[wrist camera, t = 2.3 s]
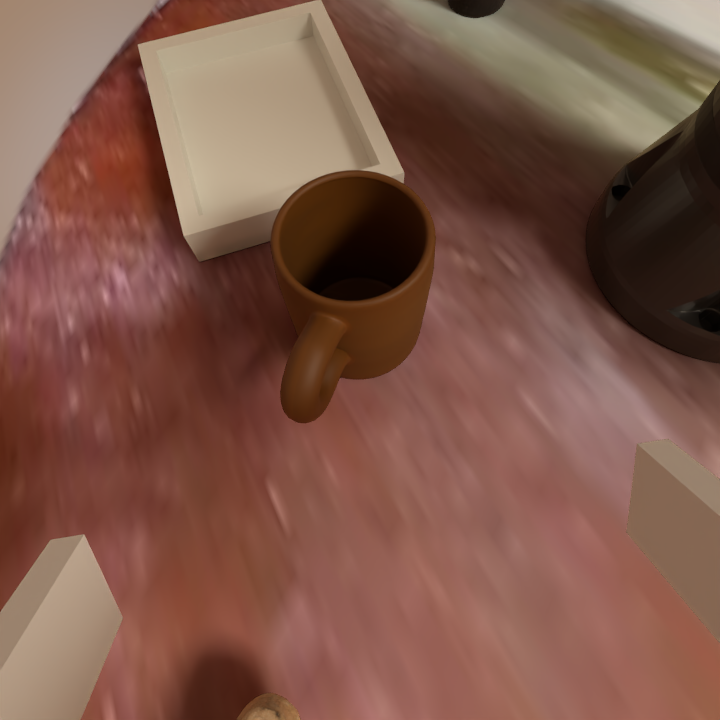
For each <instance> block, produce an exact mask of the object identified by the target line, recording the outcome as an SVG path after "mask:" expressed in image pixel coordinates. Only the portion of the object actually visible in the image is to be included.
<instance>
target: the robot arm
mask: <svg viewBox="0 0 720 720" xmlns="http://www.w3.org/2000/svg"><path fill="white" fill-rule="evenodd" d="M586 249H587V256H588V260H589V264H590V267H591V270H592V273H593V275H594V277H595V279H596V282H597V283H598V285H599V287H600V289H601V290H602V292H603V293H604V295H605V296H606V298H607V299H608V300H609V302H610V303H611V304H612V305H613V307H614V308H615V309H616V310H617V311H618V312H619V313H620V314H621V315H622V316H623V317H624V318H625V319H626V320H627V321H628V322H629V323H630V324H632V325H633V326H634V327H635V328H637V329H638V330H639V331H641V332H642V333H644V334H645V335H646V336H648V337H650V338H651V339H653V340H655V341H656V342H658V343H660V344H662V345H664V346H666V347H668V348H670V349H672V350H674V351H677V352H679V353H682V354H684V355H687V356H690V357H694V358H697V359H701V360H705V361H710V362H715V363H720V81H719V82H718V83H717V85H716V86H715V87H714V89H713V90H712V92H711V93H710V94H709V96H708V97H707V98H706V100H705V101H704V102H703V104H702V105H701V106H700V108H699V109H698V110H696V111H695V112H694V113H692V114H691V115H690V116H688V117H687V118H686V119H685V120H683V121H682V122H681V123H679V124H678V125H677V126H675V127H674V128H673V129H671V130H670V131H669V132H667V133H666V134H665V135H664V136H662V137H661V138H660V139H658V140H657V141H656V142H654V143H653V144H652V145H650V146H649V147H648V148H646V149H645V150H644V151H643V152H641V153H640V154H639V155H637V156H636V157H635V158H633V159H632V160H631V161H629V162H628V163H627V164H626V165H625V166H624V167H623V168H622V169H621V170H620V171H619V172H618V173H617V174H616V175H615V176H614V178H613V179H612V180H611V181H610V183H609V184H608V186H607V188H606V189H605V191H604V192H603V194H602V195H601V197H600V198H599V200H598V202H597V203H596V205H595V206H594V208H593V210H592V213H591V215H590V218H589V221H588V225H587V231H586ZM626 533H627V534H628V535H629V536H630V537H631V539H632V540H633V541H634V542H635V543H636V544H637V546H638V547H639V548H640V549H641V550H642V552H643V553H644V554H645V555H646V556H647V558H648V559H649V560H650V561H651V562H652V563H653V565H654V566H655V567H656V568H657V569H658V571H659V572H660V573H661V574H662V575H663V577H664V578H665V579H666V580H667V581H668V582H669V584H670V585H671V586H672V587H673V588H674V590H675V591H676V592H677V593H678V594H679V596H680V597H681V598H682V599H683V600H684V601H685V603H686V604H687V605H688V606H689V607H690V609H691V610H692V611H693V612H694V613H695V615H696V616H697V617H698V618H699V619H700V620H701V622H702V623H703V624H704V625H705V626H706V628H707V629H708V630H709V631H710V632H711V633H712V635H713V636H714V637H715V638H716V639H717V641H718V642H719V643H720V479H719V478H717V477H716V476H715V475H714V474H712V473H711V472H710V471H708V470H707V469H706V468H705V467H703V466H702V465H701V464H700V463H698V462H697V461H696V460H694V459H693V458H692V457H691V456H689V455H688V454H687V453H686V452H684V451H683V450H682V449H680V448H679V447H678V446H677V445H675V444H674V443H673V442H671V441H670V440H669V439H664V440H658V441H652V442H645V443H639V444H637V448H636V457H635V465H634V473H633V482H632V490H631V498H630V507H629V515H628V523H627V531H626ZM122 619H123V617H122V615H121V612H120V610H119V608H118V606H117V604H116V602H115V599H114V597H113V595H112V593H111V591H110V589H109V587H108V584H107V582H106V580H105V578H104V576H103V574H102V571H101V569H100V567H99V565H98V563H97V561H96V559H95V556H94V554H93V552H92V550H91V548H90V546H89V544H88V541H87V539H86V537H85V535H84V534H83V535H77V536H71V537H65V538H58V539H52V540H50V541H49V543H48V544H47V546H46V547H45V549H44V550H43V551H42V553H41V554H40V556H39V557H38V559H37V560H36V562H35V563H34V564H33V566H32V567H31V569H30V570H29V572H28V573H27V574H26V576H25V577H24V579H23V580H22V582H21V583H20V585H19V586H18V587H17V589H16V590H15V592H14V593H13V595H12V596H11V598H10V599H9V600H8V602H7V603H6V605H5V606H4V608H3V609H2V610H1V612H0V720H81V717H82V715H83V713H84V710H85V708H86V705H87V703H88V701H89V698H90V696H91V693H92V691H93V689H94V686H95V684H96V681H97V679H98V677H99V674H100V672H101V669H102V667H103V665H104V662H105V660H106V657H107V655H108V653H109V650H110V648H111V645H112V643H113V641H114V638H115V636H116V634H117V631H118V629H119V626H120V624H121V622H122Z"/></svg>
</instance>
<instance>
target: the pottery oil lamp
mask: <svg viewBox="0 0 720 720" xmlns="http://www.w3.org/2000/svg"><path fill="white" fill-rule="evenodd" d="M237 720H301V719H300V716H299V713H298V711H297V710H296V708H295V707H294V706H293V705H292V704H291V703H290V702H289V701H288V700H287V699H286V698H284V697H282V696H280V695H277V694H274V693H265V694H262V695H260V696H258V697H256V698H254V699H253V700H252V701H251V702H249V703H248V704H247V706H246V707H245V708H244V709H243V710H242V712H241V713H240V715H239V716H238V718H237Z"/></svg>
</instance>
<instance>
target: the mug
mask: <svg viewBox="0 0 720 720" xmlns="http://www.w3.org/2000/svg"><path fill="white" fill-rule="evenodd" d="M435 241H436V236H435V227H434V223H433V220H432V217H431V215H430V213H429V211H428V209H427V207H426V206H425V204H424V202H423V201H422V200H421V199H420V198H419V196H418V195H417V194H416V193H415V192H414V191H413V190H411V189H410V188H409V187H407V186H406V185H405V184H403V183H401V182H400V181H398V180H396V179H394V178H392V177H389V176H387V175H384V174H380V173H377V172H371V171H363V170H346V171H339V172H334V173H330V174H326V175H323V176H320V177H318V178H316V179H314V180H311V181H309V182H308V183H306V184H305V185H303V186H301V187H300V188H299V189H298V190H296V191H295V192H294V193H293V194H292V195H291V196H290V197H289V198H288V199H287V200H286V201H285V203H284V204H283V205H282V207H281V208H280V210H279V212H278V214H277V216H276V218H275V221H274V224H273V227H272V232H271V241H270V244H271V253H272V258H273V262H274V267H275V273H276V277H277V280H278V284H279V287H280V290H281V292H282V295H283V298H284V301H285V304H286V306H287V309H288V312H289V315H290V317H291V320H292V322H293V324H294V327H295V330H296V333H297V335H298V339H297V341H296V342H295V344H294V346H293V348H292V351H291V353H290V356H289V359H288V361H287V364H286V368H285V371H284V375H283V378H282V383H281V391H280V396H281V404H282V407H283V410H284V412H285V414H286V415H287V416H288V417H289V418H290V419H292V420H294V421H296V422H298V423H308V422H312V421H314V420H316V419H317V418H318V417H319V416H320V415H321V414H322V413H323V412H324V411H325V409H326V408H327V406H328V404H329V402H330V400H331V398H332V395H333V393H334V391H335V388H336V386H337V383H338V381H339V378H340V377H342V378H347V379H369V378H374V377H377V376H381V375H383V374H385V373H388V372H389V371H391V370H393V369H394V368H396V367H397V366H398V365H400V364H401V363H402V362H403V361H404V360H405V359H406V358H407V356H408V355H409V354H410V352H411V351H412V349H413V348H414V346H415V344H416V341H417V339H418V336H419V333H420V329H421V324H422V320H423V316H424V312H425V307H426V303H427V298H428V294H429V289H430V284H431V279H432V275H433V269H434V255H435Z"/></svg>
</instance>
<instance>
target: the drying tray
mask: <svg viewBox="0 0 720 720" xmlns="http://www.w3.org/2000/svg"><path fill="white" fill-rule="evenodd" d="M138 48H139V52H140V56H141V61H142V65H143V69H144V73H145V77H146V81H147V86H148V90H149V94H150V98H151V102H152V106H153V111H154V115H155V119H156V123H157V127H158V131H159V136H160V140H161V144H162V148H163V152H164V156H165V161H166V165H167V169H168V173H169V177H170V182H171V186H172V190H173V194H174V198H175V202H176V207H177V211H178V215H179V219H180V223H181V227H182V232H183V236H184V238H185V239H186V241H187V243H188V244H189V246H190V248H191V249H192V251H193V253H194V254H195V256H196V257H197V259H198V261H199V262H201V261H204V260H208V259H211V258H215V257H218V256H221V255H225V254H228V253H232V252H235V251H238V250H242V249H245V248H249V247H252V246H255V245H259V244H262V243H266V242H269V241H271V232H272V227H273V224H274V221H275V218H276V216H277V214H278V212H279V210H280V208H281V207H282V205H283V204H284V203H285V201H286V200H287V199H288V198H289V197H290V196H291V195H292V194H293V193H294V192H295V191H296V190H298V189H299V188H300V187H301V186H303V185H305V184H306V183H308V182H309V181H311V180H314V179H316V178H318V177H320V176H323V175H326V174H330V173H334V172H339V171H346V170H363V171H371V172H377V173H380V174H384V175H387V176H389V177H392V178H394V179H396V180H398V181H400V182H401V183H403V184H404V171H403V169H402V167H401V165H400V163H399V160H398V158H397V156H396V154H395V152H394V150H393V148H392V146H391V144H390V142H389V140H388V138H387V136H386V134H385V131H384V129H383V127H382V125H381V123H380V121H379V119H378V117H377V115H376V113H375V111H374V109H373V107H372V105H371V102H370V100H369V98H368V96H367V94H366V92H365V90H364V88H363V86H362V84H361V82H360V80H359V78H358V76H357V73H356V71H355V69H354V67H353V65H352V63H351V61H350V59H349V57H348V55H347V53H346V51H345V49H344V47H343V44H342V42H341V40H340V38H339V36H338V34H337V32H336V30H335V28H334V26H333V24H332V22H331V20H330V18H329V15H328V13H327V11H326V9H325V7H324V5H323V3H322V1H321V0H316V1H312V2H308V3H304V4H300V5H296V6H291V7H287V8H283V9H279V10H275V11H271V12H267V13H263V14H259V15H255V16H251V17H247V18H243V19H239V20H235V21H231V22H227V23H223V24H219V25H215V26H210V27H206V28H202V29H198V30H194V31H190V32H186V33H182V34H178V35H174V36H170V37H166V38H162V39H158V40H154V41H150V42H146V43H142V44H138Z"/></svg>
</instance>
